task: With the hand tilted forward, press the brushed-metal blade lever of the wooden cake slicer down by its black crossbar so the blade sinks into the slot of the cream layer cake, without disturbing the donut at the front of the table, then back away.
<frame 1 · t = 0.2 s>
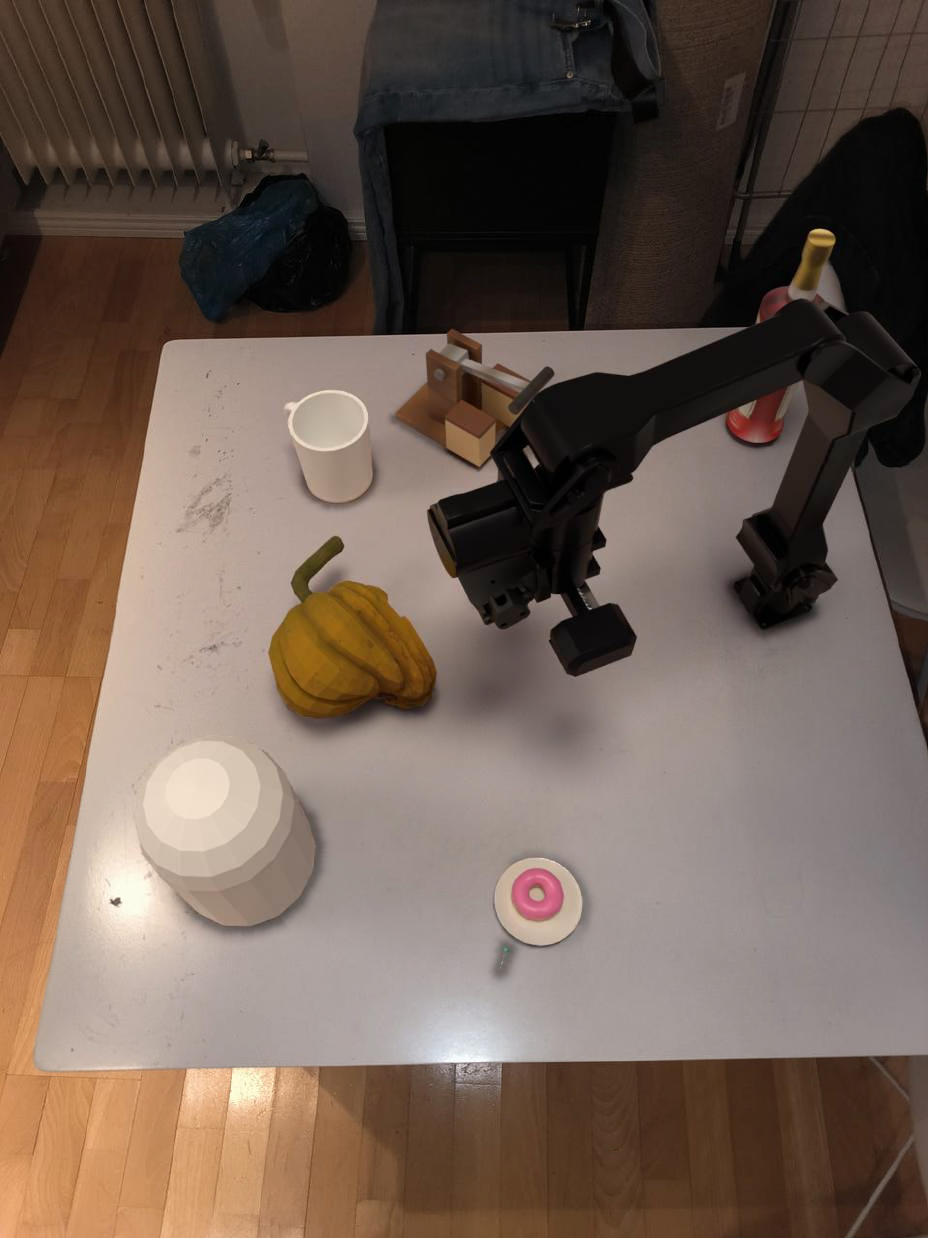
hand: (548, 619, 90), 15 cm above the table, tool pointing down, fingers open, 9 cm apart
container: (248, 858, 94), on the table
layer cake: (488, 414, 116), point 4 cm above the table
blade lever: (489, 374, 110), point 11 cm above the table, hinge at 10.0°
donut: (532, 917, 91), on the table
mug: (333, 475, 117), on the table
fruit: (351, 672, 104), on the table
liquor: (751, 428, 120), on the table
slicer: (455, 418, 121), on the table
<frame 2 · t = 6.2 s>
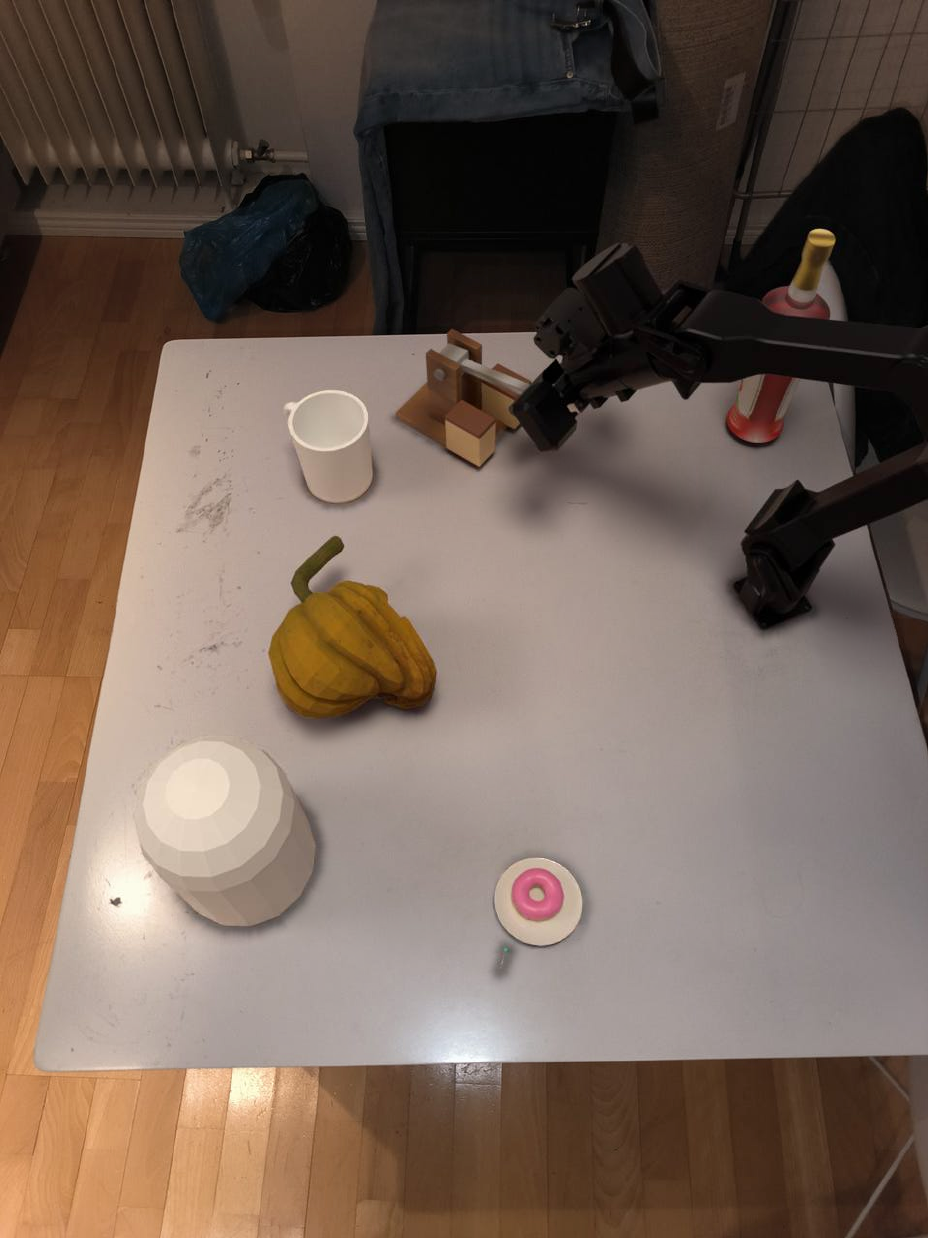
hand: (534, 389, 107), 12 cm above the table, tool tilted 45°, fingers closed, pressing on blade lever
blade lever: (489, 374, 110), point 11 cm above the table, hinge at 8.5°, touching gripper
everything else where it was.
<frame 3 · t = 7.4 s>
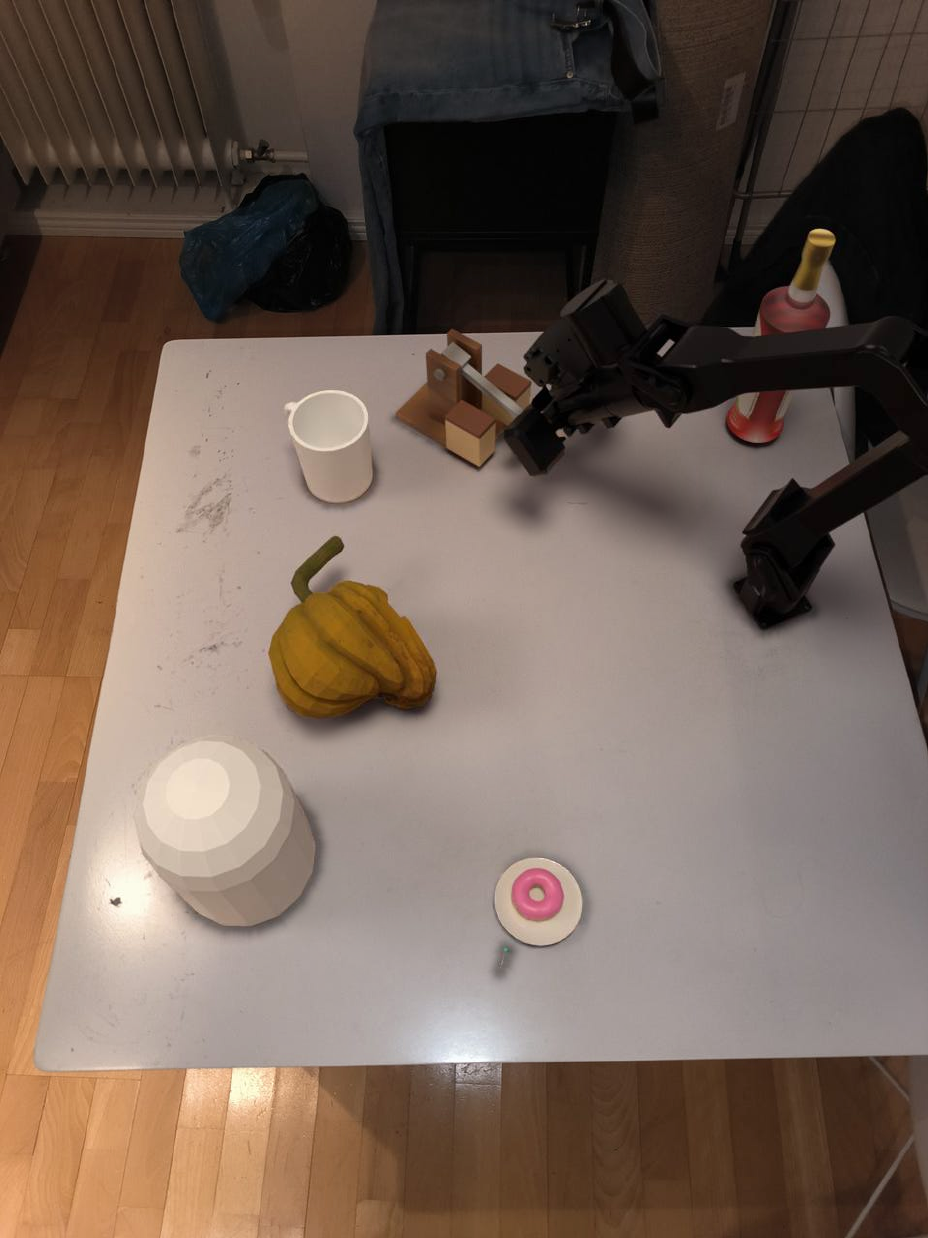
hand: (525, 413, 111), 8 cm above the table, tool tilted 45°, fingers closed, pressing on blade lever
blade lever: (488, 388, 112), point 8 cm above the table, hinge at -17.5°, touching gripper
everything else where it was.
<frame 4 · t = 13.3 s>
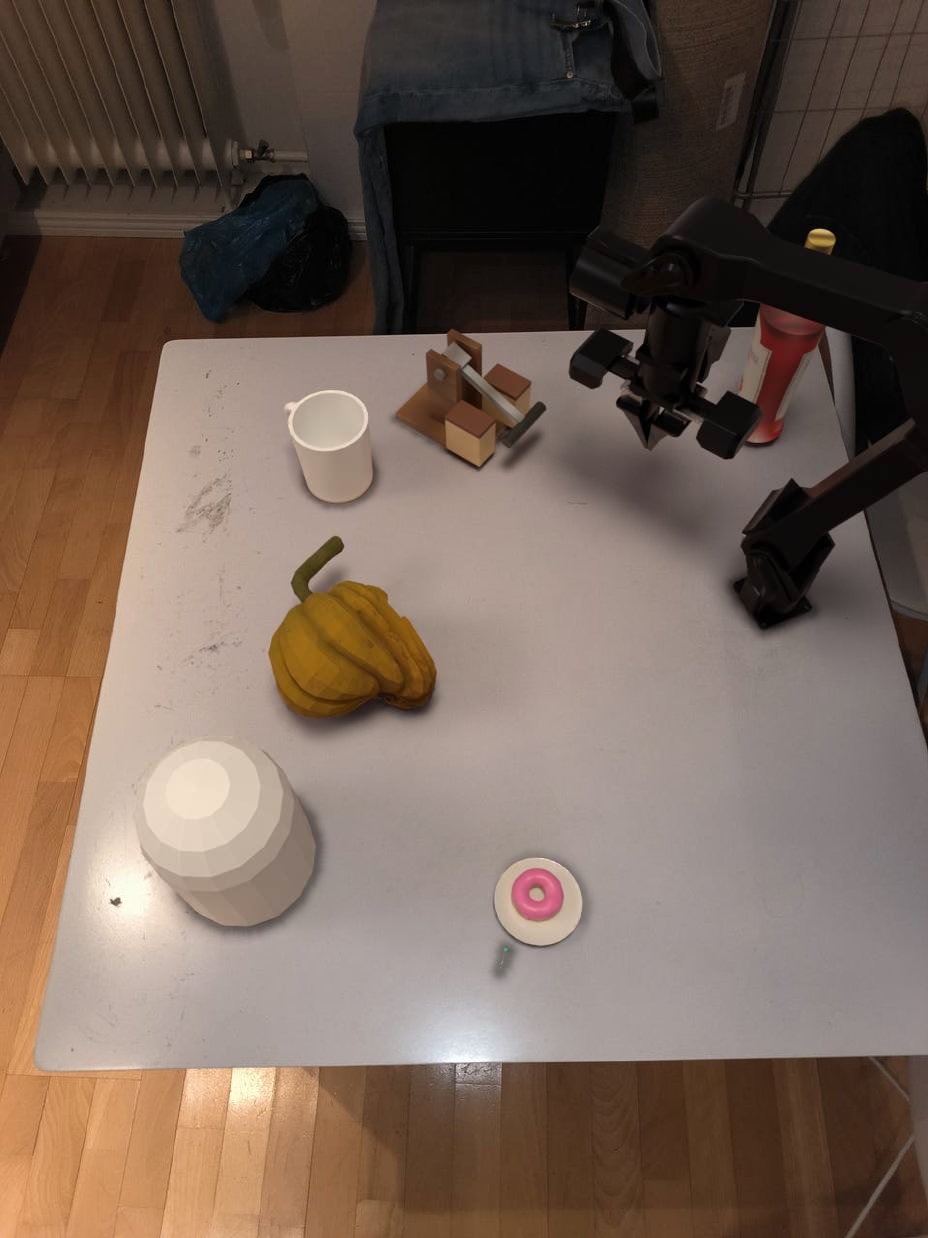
hand: (650, 446, 102), 13 cm above the table, tool pointing down, fingers closed
blade lever: (487, 390, 113), point 8 cm above the table, hinge at -22.4°
everything else where it was.
at the end: blade lever at -22° (first picture: +10°); donut moved 0.2 cm from its start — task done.
